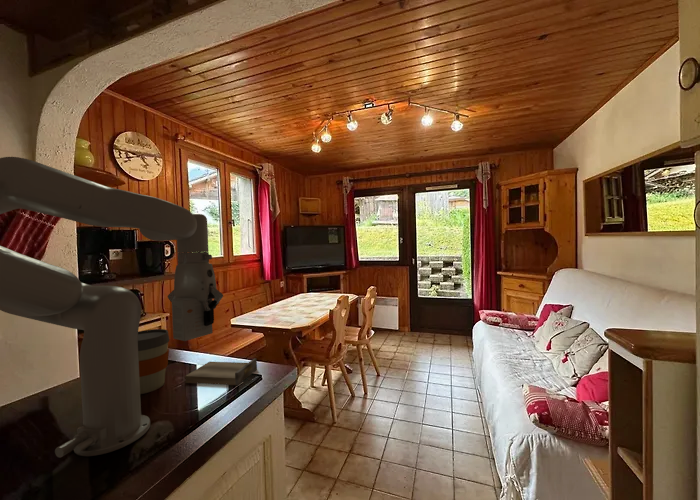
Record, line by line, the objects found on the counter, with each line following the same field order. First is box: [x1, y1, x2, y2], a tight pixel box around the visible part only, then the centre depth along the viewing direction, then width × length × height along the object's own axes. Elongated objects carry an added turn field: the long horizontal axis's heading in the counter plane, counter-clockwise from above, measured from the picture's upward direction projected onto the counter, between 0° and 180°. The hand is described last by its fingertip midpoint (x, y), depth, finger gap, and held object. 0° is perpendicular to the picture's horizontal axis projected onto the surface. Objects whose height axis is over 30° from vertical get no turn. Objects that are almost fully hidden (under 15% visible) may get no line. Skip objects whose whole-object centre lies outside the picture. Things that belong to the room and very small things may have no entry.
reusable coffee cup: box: [138, 328, 170, 395], centre depth 86 cm, size 13×13×15 cm
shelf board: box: [184, 358, 258, 386], centre depth 91 cm, size 11×17×4 cm, turn 80°
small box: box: [171, 297, 213, 342], centre depth 81 cm, size 8×6×10 cm
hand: (196, 324), depth 81 cm, fingers closed on small box, 7 cm apart
